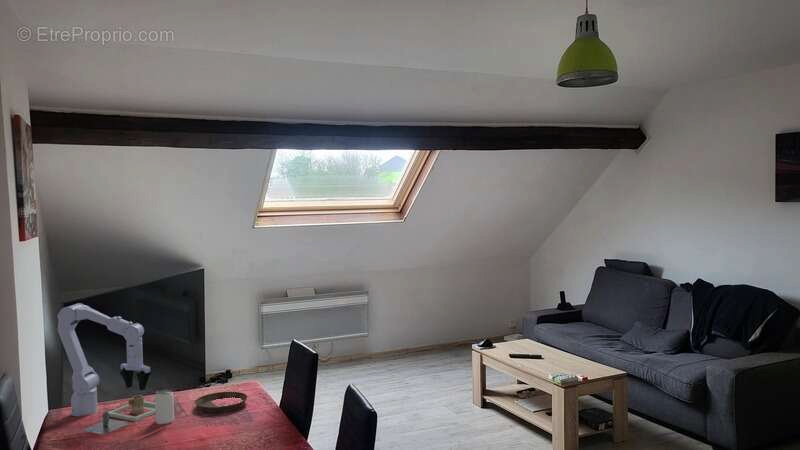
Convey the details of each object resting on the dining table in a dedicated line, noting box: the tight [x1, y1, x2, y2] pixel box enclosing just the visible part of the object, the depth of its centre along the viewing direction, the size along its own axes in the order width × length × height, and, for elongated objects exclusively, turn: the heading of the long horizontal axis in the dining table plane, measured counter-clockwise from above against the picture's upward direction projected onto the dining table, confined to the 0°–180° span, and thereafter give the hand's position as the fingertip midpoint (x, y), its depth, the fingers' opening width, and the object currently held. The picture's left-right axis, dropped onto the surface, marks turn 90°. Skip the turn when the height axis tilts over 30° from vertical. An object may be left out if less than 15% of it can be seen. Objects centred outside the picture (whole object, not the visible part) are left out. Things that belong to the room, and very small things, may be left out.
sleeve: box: [128, 395, 145, 415], centre depth 236 cm, size 4×6×6 cm
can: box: [154, 388, 175, 426], centre depth 226 cm, size 6×6×12 cm
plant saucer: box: [194, 391, 248, 413], centre depth 244 cm, size 21×21×3 cm
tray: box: [107, 400, 156, 422], centre depth 237 cm, size 16×16×2 cm
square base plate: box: [80, 411, 132, 436], centre depth 221 cm, size 12×12×6 cm
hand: (135, 388), depth 237 cm, fingers open, 7 cm apart
